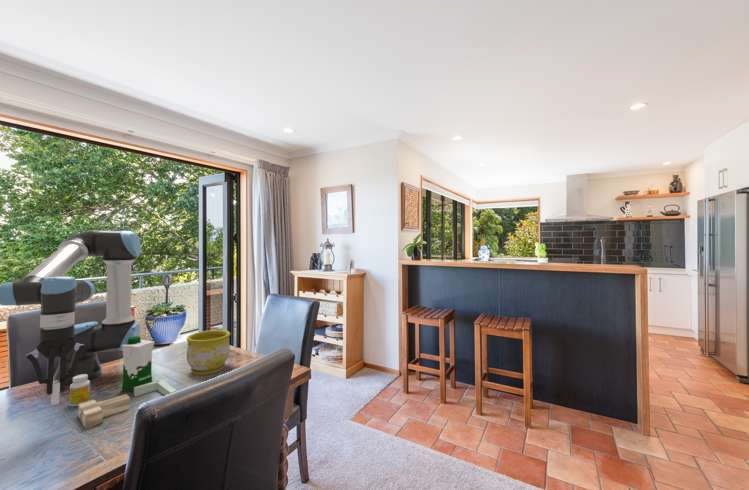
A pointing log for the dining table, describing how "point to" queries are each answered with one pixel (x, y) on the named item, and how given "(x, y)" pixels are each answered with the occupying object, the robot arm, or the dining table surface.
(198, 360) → the flowerpot
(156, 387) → the corner stop
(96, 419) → the t block
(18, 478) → the dining table surface
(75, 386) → the supplement bottle
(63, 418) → the dining table surface
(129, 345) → the milk carton
